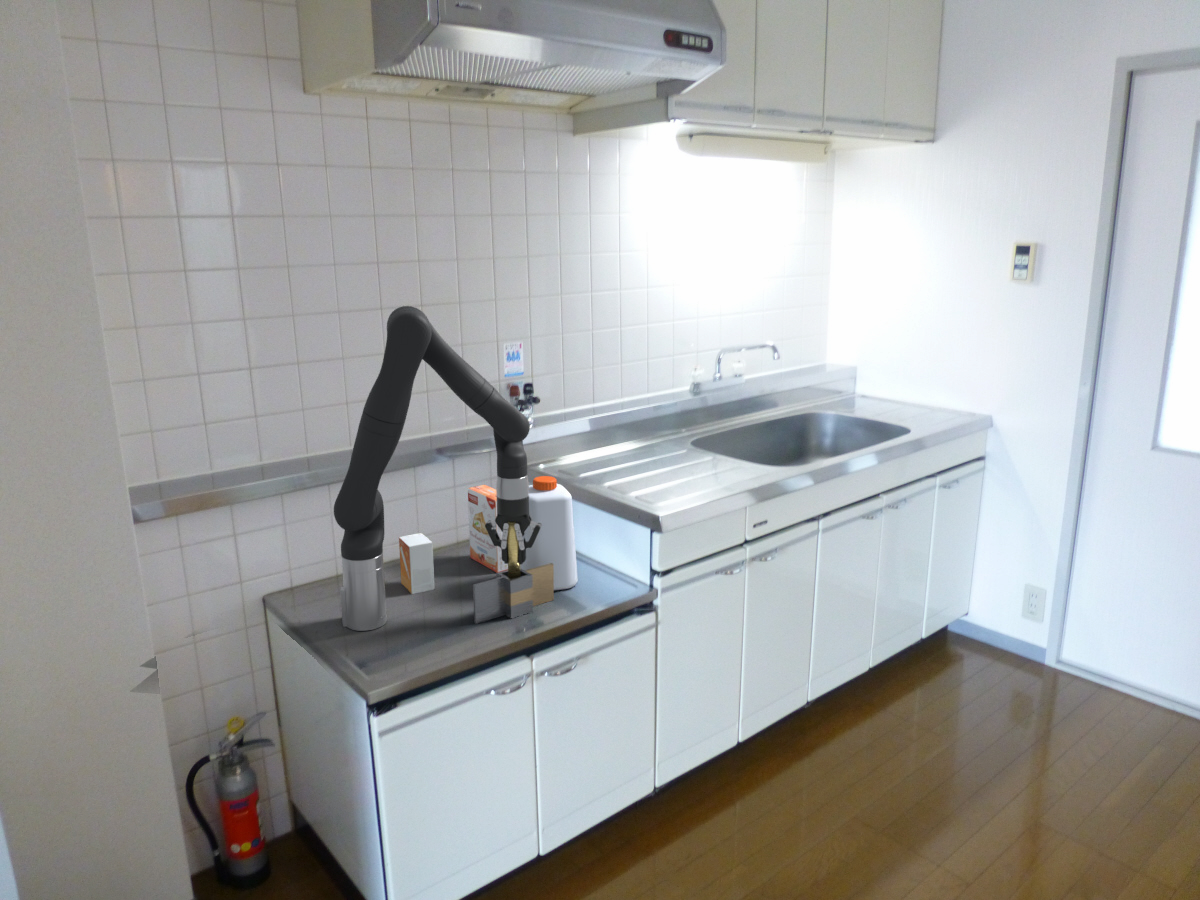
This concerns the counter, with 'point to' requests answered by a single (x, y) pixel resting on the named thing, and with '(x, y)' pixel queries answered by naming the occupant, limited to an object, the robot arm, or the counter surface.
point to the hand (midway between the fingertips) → (514, 562)
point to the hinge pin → (513, 553)
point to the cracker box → (480, 513)
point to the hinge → (513, 593)
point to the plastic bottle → (552, 531)
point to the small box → (416, 563)
